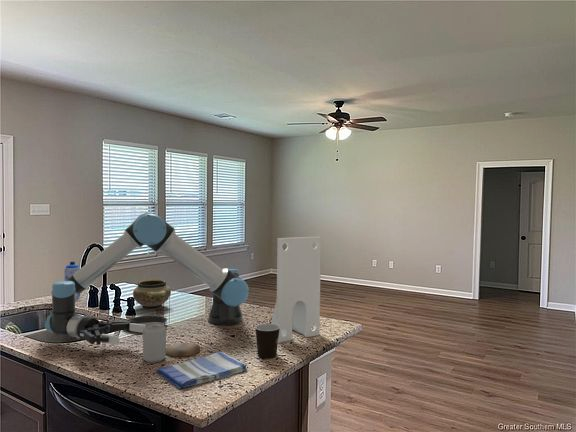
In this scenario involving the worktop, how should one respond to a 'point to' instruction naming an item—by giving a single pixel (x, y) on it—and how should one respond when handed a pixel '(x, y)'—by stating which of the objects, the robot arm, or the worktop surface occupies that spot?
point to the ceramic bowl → (151, 294)
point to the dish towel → (202, 370)
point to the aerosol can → (71, 272)
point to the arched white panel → (298, 287)
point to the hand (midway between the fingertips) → (132, 334)
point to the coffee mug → (267, 340)
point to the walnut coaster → (182, 349)
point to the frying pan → (148, 319)
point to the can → (154, 342)
